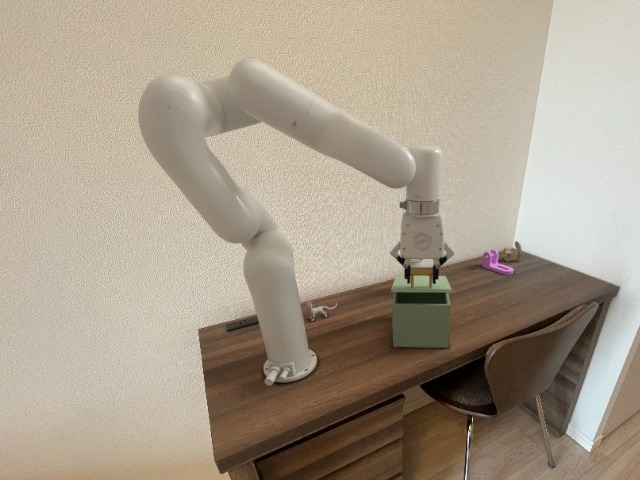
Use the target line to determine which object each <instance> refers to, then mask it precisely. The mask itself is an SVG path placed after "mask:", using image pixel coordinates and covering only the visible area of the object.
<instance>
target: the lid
mask: <svg viewBox="0 0 640 480" xmlns="http://www.w3.org/2000/svg"><path fill="white" fill-rule="evenodd" d="M410 275H411V276H410V283H409V284H407V279H404V275H395V277H394V280H393V283H392V286H391V289H390V291H391V293H394V292H434V293H448V294H449V293H450V294H451V293H452V292H453V289H452V287H451V284H450V282H449V280H448V278H447V276H446V275H439V279H438V280H436V284H433V281H432V276H433V266H431V267H430V266H429V267H428V266H424V267H410ZM414 275H421V276H414Z"/></svg>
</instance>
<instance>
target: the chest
mask: <svg viewBox="0 0 640 480" xmlns="http://www.w3.org/2000/svg"><path fill="white" fill-rule="evenodd" d="M391 303H392V304H391V319H392V320H391V321H392V322H391V323H392V347H393V348H432V349H433V348H435V349H438V348H439V349H440V348H441V349H448V348H449V340H450V339H449V337H450V324H451V323H450V322H451V309H452V306H451V300H450V294H449V293H434V292H393V295H392V302H391Z"/></svg>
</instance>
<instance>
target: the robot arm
mask: <svg viewBox="0 0 640 480" xmlns="http://www.w3.org/2000/svg"><path fill="white" fill-rule="evenodd" d="M137 120H138V126H139V130H140V134H141V137H142V139H143V141H144V144H145V146H146V147H147V149H148V151H149V152H150V154H151V155H152V157H153V158H154V160H155V161H156V162H157V164H158V165H159V167H161V169H162V170H163V171H164V173H165V174H166V175H167V176H168V177H169V178H170V180H171V181H172V182H173V183H174V184H175V185H176V187H177V188H178V189H179V190H180V192H181V193H182V195H184V197H185V198H186V199H187V201H188V202H189V203H190V204H191V206H192V207H193V208H194V209H195V210H196V212H197V213H198V214H199V215H200V217H201V218H202V220H204V221H205V222H206V224H207V225H208V226H209V227H210V229H211V230H212V231H213V233H215V235H217V236H218V237H219V238H220V239H221V240H223V241H225V242H227V243H231V244H240V245H241V246H242V247H243V248H244V250H245V251H246V253H245V254H244V258H243V262H242V263H243V264H242V267H243V268H242V269H243V276H244V279H245V283H246V285H247V288H248V291H249V293H250V296H251V299H252V302H253V306H254V311H255V315H256V317H257V321H258V325H259V329H260V333H261V336H262V341H263V345H264V348H265V352H266V356H267V360H266V361H265V362H264V364H263V368H262V370H263V374H264V376H265V379H264V381H263V383H264V384H265V385H266V386H269V387H271V386H273V384H274V383H290V382H296V381H299V380H300V379H303V378H305V377H307V376H308V375H310V374H312V372H313V371H314V370H315V369H316V368H317V364H318V357H317V354H316V353H315V352H314V351H313V350H312V349H310V348H309V343H308V338H307V331H306V325H305V321H304V315H303V309H302V304H301V299H300V298H301V297H300V294H299V288H298V283H297V277H296V271H295V260H294V259H295V257H294V248H293V244H292V242H291V241H290V239H289V237H288V236H287V234H286V232H285V231H284V230H283V228H282V227H281V226H280V224H279V223H278V221H277V220H276V219H275V217H274V216H273V214H272V212H270V210H269V209H268V208H267V205H266V204H264V201H262V200H261V198H260V197H259V196H258V195H257V194H256V193H254V192H253V191H252V190H250V189H248V188H245V187H241V186H239V185H238V184H237V182H236V181H235V180H234V179H233V178H232V176H231V175H230V173H229V171H228V170H227V168H226V167H225V166H224V164H223V163H222V162H221V160H219V158H218V157H217V156H216V154H215V153H214V152H213V151H212V150H211V148H210V146H209V145H208V143H207V141H206V138H209V137H214V136H218V135H222V134H226V133H229V132H232V131H237V130H240V129H244V128H247V127H251V126H255V125H259V124H261V123H262V124H265V125H266V126H269V127H271V128H272V129H274V130H277V131H278V132H280V133H282V134H283V135H286V136H288V137H289V138H291V139H293V140H295V141H297V142H298V143H301V144H302V145H304V146H306V147H308V148H310V149H311V150H313V151H315V152H317V153H319V154H321V155H323V156H325V157H329V158H332V159H334V160H337V161H339V162H341V163H343V164H345V165H347V166H348V167H351V168H352V169H355V170H356V171H358V172H360V173H361V174H364V175H365V176H367V177H370V178H371V179H372V180H374V181H377V183H379V184H381V185H384V186H385V187H387V188H390V189H392V190H393V189H394V190H398V189H402V188H404V187H405V200H404V201H399V209H403V210H405V211H404V212H402V213H403V214H402V216H401V222H400V235H399V237H400V238H399V241H398V242H397V243H396V244H395V245H394V247H393V248H391V250H390V251H389V254H390V256H391V257H392V258H394V260H396V261H397V262H398V263H399V264H400V265H401V266H402V267H403V269H404V270H403V271H404V272H403V273H404V274H403V276H404V279H407V284H409V283H410V267H411V265H410V260H411V259H422V260H432V261H433V265H432V267H433V276H432V281H433V284H436V280H438V279H439V276H440V269H441V267H442V266H443V265H444V264H445V263H446V262H448V260H450V259H451V258H452V257H453V256H455V251H454V250H453V248H452V247H450V245H449V244H448V243H447V241H445V219H444V214H443V213H442V212H441V191H442V190H441V188H442V170H443V169H442V168H443V167H442V166H443V151H442V149H441V148H440V147H439V146H436V145H413V146H409V147H405V146H403V145H402V144H401V143H400V142H397V141H395V140H394V139H393V138H391V137H389V136H388V135H387V134H385V133H383V132H381V131H379V130H378V129H376V128H375V127H372V126H371V125H369V124H367V123H366V122H364V121H362V120H360V119H359V118H357V117H356V116H353V115H352V114H350V113H348V111H345V110H344V109H342V108H340V107H339V106H336V105H335V104H333V103H331V102H330V101H328V100H326V99H325V98H323V97H321V96H320V95H318V94H317V93H315V92H313V91H311V89H308V88H306V87H305V86H303V85H302V84H300V83H299V82H297V81H295V80H293V78H291V77H289V76H287V75H286V74H285V73H283V72H281V71H279V70H278V69H276V68H274V67H273V66H272V65H270V64H268V63H265V62H264V61H262V60H260V59H257V58H251V57H246V58H241V59H240V60H238V61H237V62H236V63H235V64H234V65H233V67H232V69H231V70H230V73H229V75H226V76H222V77H219V78H215V79H209V80H205V81H201V82H198V81H196V80H194V79H192V78H190V77H187V76H185V75H183V74H182V75H181V74H175V73H166V74H162V75H158V76H157V77H155V78H153V80H151V81H150V82H149V83H148V84H147V85H146V86H145V88H144V90H143V92H142V94H141V97H140V100H139V103H138V111H137ZM399 252H400V253H399ZM445 252H446V253H445Z"/></svg>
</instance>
